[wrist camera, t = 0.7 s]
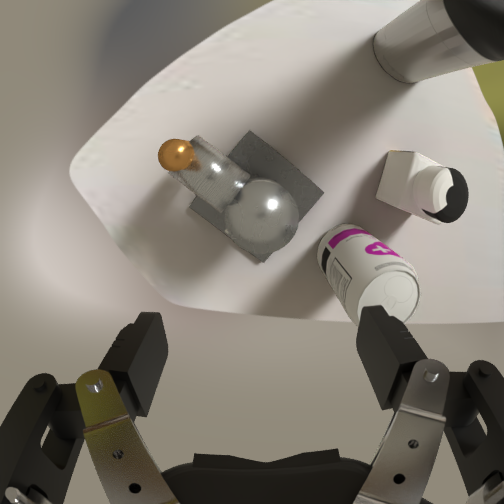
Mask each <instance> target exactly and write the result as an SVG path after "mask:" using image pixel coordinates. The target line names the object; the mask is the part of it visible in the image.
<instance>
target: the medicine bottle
mask: <svg viewBox="0 0 504 504" xmlns="http://www.w3.org/2000/svg"><path fill="white" fill-rule="evenodd" d="M376 199H377V200H380V201H382V202H385V203H387V204H389V205H392V206H394V207H396V208H399V209H401V210H404V211H406V212H409V213H411V214H414V215H416V216H419V217H421V218H423V219H426V220H428V221H431V222H433V223H435V224H440V223H441V222H444V223H451V222H454V221H456V220H457V219H458V218H459V217H460V216H461V215H462V214H463V212H464V211H465V209H466V206H467V203H468V187H467V183H466V181H465V179H464V177H463V175H462V174H461V173H460V172H459V171H457V170H456V169H453V168H447V167H444V166H442V165H440V164H438V163H436V162H435V161H433V160H431V159H429V158H427V157H425V156H423V155H421V154H419V153H417V152H410V151H393V150H390V151H389V153H388V156H387V160H386V163H385V167H384V171H383V174H382V177H381V181H380V184H379V187H378V191H377V194H376Z"/></svg>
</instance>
